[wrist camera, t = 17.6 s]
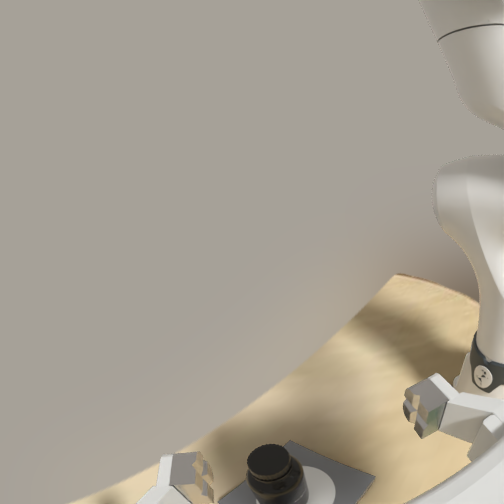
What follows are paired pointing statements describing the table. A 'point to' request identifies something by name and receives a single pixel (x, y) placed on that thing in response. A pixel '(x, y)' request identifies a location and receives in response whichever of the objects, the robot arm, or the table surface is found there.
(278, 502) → the supplement bottle
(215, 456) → the table surface
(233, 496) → the charging pad
